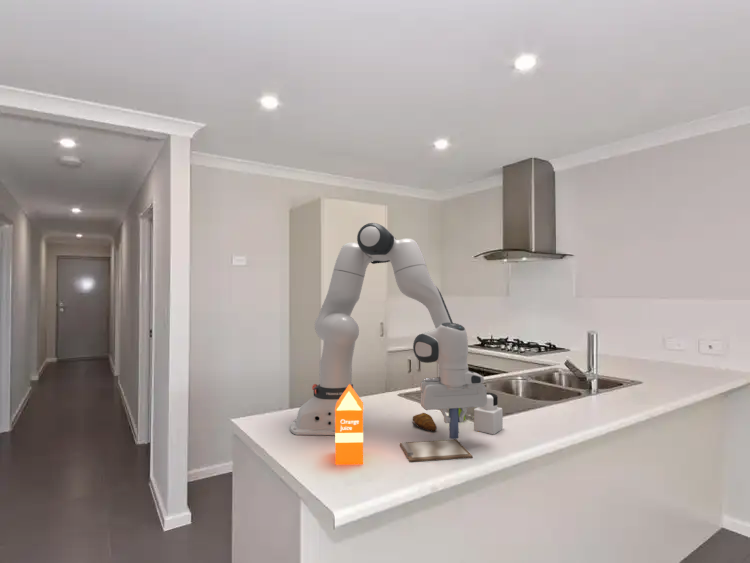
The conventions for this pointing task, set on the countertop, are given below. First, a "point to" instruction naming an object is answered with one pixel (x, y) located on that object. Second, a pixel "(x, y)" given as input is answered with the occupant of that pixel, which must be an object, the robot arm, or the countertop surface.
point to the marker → (454, 423)
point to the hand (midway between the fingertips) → (453, 422)
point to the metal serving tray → (434, 450)
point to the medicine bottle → (489, 416)
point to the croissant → (424, 422)
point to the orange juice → (349, 429)
